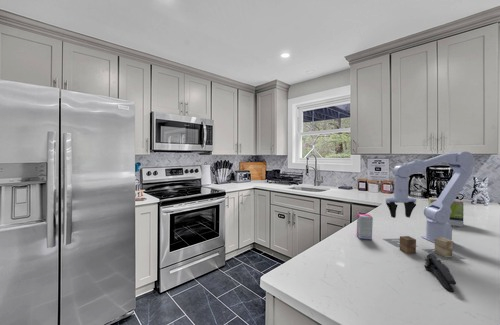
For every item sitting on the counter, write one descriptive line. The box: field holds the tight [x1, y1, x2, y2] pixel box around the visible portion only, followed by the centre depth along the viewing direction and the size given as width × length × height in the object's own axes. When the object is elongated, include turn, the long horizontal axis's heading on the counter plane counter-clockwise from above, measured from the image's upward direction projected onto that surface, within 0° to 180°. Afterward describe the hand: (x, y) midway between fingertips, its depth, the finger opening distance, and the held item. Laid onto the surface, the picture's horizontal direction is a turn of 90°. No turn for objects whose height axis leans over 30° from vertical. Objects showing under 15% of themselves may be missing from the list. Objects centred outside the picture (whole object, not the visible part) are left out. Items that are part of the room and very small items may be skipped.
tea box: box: [428, 197, 464, 228], centre depth 137 cm, size 15×10×15 cm, turn 58°
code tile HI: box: [422, 248, 466, 261], centre depth 93 cm, size 10×10×1 cm
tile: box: [382, 237, 418, 248], centre depth 105 cm, size 10×10×1 cm
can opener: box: [423, 253, 457, 293], centre depth 75 cm, size 18×7×6 cm, turn 155°
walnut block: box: [399, 235, 417, 255], centre depth 95 cm, size 4×4×6 cm
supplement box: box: [356, 213, 374, 241], centre depth 111 cm, size 6×6×12 cm
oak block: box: [434, 238, 454, 256], centre depth 93 cm, size 4×4×6 cm
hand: (400, 217), depth 112 cm, fingers open, 7 cm apart
